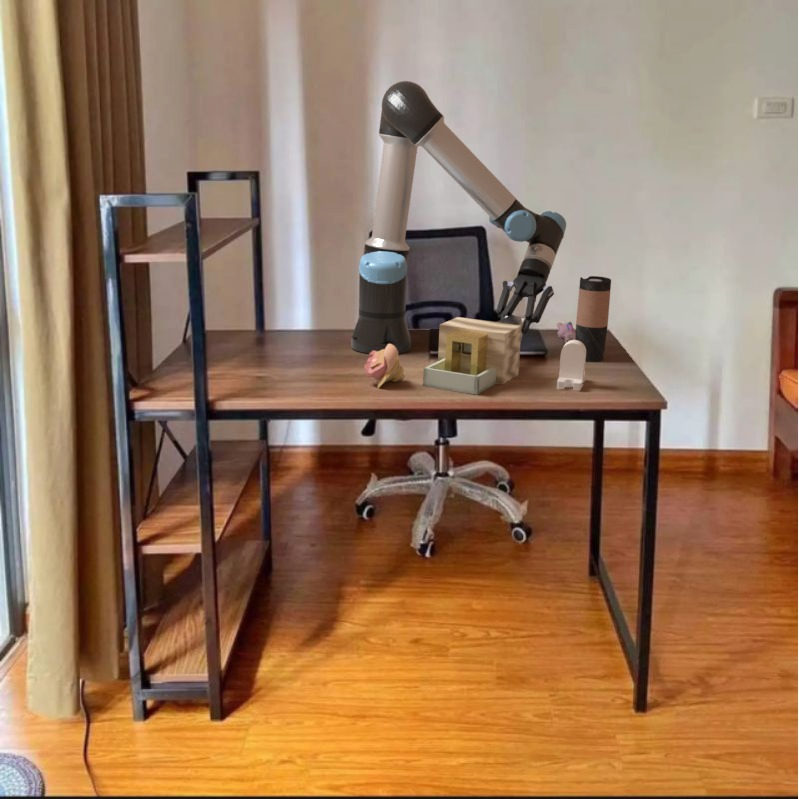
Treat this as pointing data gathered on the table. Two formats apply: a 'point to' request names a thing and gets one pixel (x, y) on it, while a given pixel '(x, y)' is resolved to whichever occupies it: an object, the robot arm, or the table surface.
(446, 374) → the tray
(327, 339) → the table surface
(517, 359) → the light wood block
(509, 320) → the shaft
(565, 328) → the rabbit figure
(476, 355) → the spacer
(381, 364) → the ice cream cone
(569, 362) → the white phone stand
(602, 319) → the travel mug
